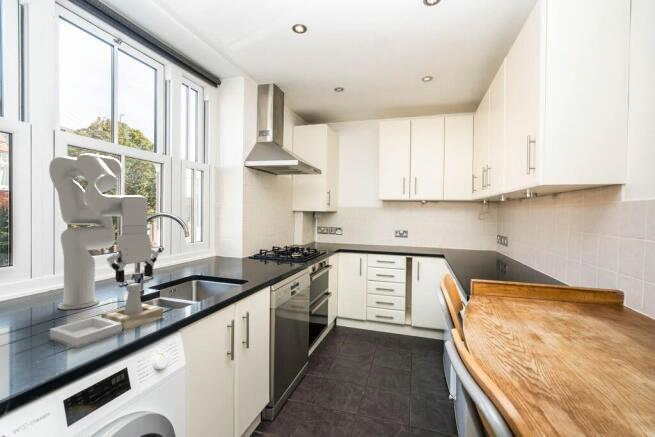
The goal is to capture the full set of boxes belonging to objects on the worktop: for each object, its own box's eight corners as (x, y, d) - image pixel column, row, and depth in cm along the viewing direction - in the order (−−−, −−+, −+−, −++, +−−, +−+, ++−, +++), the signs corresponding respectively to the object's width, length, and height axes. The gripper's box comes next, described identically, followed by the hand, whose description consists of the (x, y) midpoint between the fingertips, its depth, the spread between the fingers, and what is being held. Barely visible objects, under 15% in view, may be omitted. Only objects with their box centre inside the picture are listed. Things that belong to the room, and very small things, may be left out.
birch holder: (101, 323, 98) (101, 313, 97) (139, 311, 109) (139, 302, 109) (125, 330, 92) (126, 319, 92) (162, 317, 104) (162, 308, 104)
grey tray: (50, 338, 85) (50, 328, 85) (95, 324, 96) (95, 316, 96) (76, 348, 80) (76, 338, 80) (121, 332, 91) (122, 323, 91)
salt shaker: (132, 324, 98) (133, 286, 97) (118, 322, 99) (119, 285, 98) (146, 318, 103) (147, 282, 103) (133, 316, 104) (134, 281, 104)
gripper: (151, 229, 110) (151, 273, 110) (100, 231, 94) (100, 283, 94) (164, 229, 107) (164, 275, 107) (114, 232, 91) (115, 285, 91)
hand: (134, 279), depth 100 cm, fingers open, 9 cm apart
